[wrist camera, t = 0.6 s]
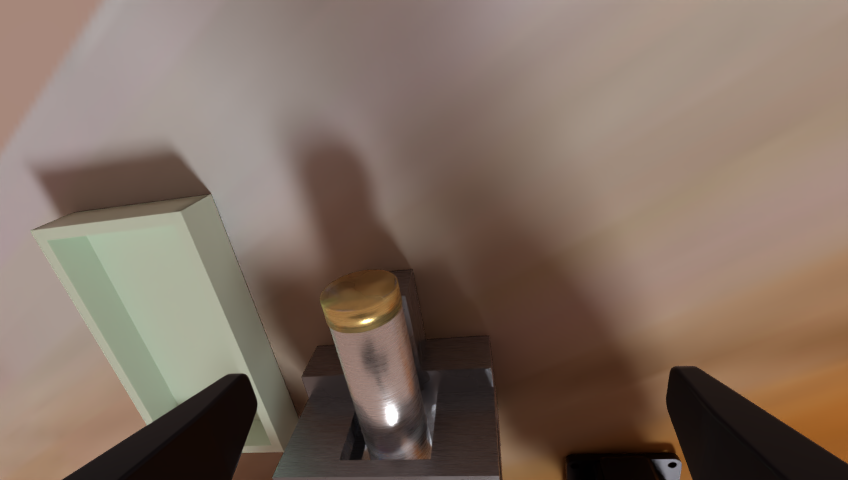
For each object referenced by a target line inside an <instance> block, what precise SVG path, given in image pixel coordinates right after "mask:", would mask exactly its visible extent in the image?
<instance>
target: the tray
mask: <svg viewBox="0 0 848 480" xmlns="http://www.w3.org/2000/svg"><path fill="white" fill-rule="evenodd" d="M30 231H31V233H32V235H33V236H34V238H35V240H36V241H37V243H38V245H39V246H40V248H41V250H42V251H43V253H44V255H45V256H46V258H47V260H48V261H49V263H50V265H51V266H52V268H53V270H54V271H55V273H56V275H57V276H58V278H59V280H60V281H61V283H62V285H63V286H64V288H65V290H66V291H67V293H68V295H69V296H70V298H71V300H72V301H73V303H74V305H75V306H76V308H77V310H78V311H79V313H80V315H81V316H82V318H83V320H84V321H85V323H86V325H87V326H88V328H89V330H90V331H91V333H92V335H93V336H94V338H95V340H96V341H97V343H98V345H99V346H100V348H101V350H102V351H103V353H104V355H105V356H106V358H107V360H108V361H109V363H110V365H111V366H112V368H113V370H114V371H115V373H116V375H117V376H118V378H119V380H120V381H121V383H122V385H123V386H124V388H125V390H126V391H127V393H128V395H129V396H130V398H131V400H132V401H133V403H134V405H135V406H136V408H137V410H138V411H139V413H140V415H141V416H142V418H143V420H144V421H145V423H146V425H148V424H150V423H152V422H153V421H155V420H156V419H158V418H159V417H161V416H163V415H164V414H166V413H167V412H169V411H170V410H172V409H173V408H175V407H177V406H178V405H180V404H181V403H183V402H184V401H186V400H188V399H189V398H191V397H192V396H194V395H195V394H197V393H199V392H200V391H202V390H203V389H205V388H206V387H208V386H209V385H211V384H213V383H214V382H216V381H217V380H219V379H220V378H222V377H224V376H225V375H227V374H233V373H244V374H246V375H247V376H248V377H249V379H250V382H251V385H252V387H253V390H254V393H255V395H256V398H257V403H258V405H257V411H256V415H255V417H254V420H253V423H252V426H251V428H250V431H249V434H248V437H247V439H246V442H245V445H244V448H243V450H242V453H268V452H284V451H285V449H286V447H287V444H288V442H289V440H290V438H291V436H292V434H293V432H294V429H295V427H296V425H297V423H298V421H299V418H298V415H297V413H296V410H295V408H294V405H293V403H292V400H291V397H290V395H289V392H288V390H287V387H286V385H285V382H284V380H283V377H282V374H281V372H280V369H279V367H278V364H277V362H276V359H275V356H274V354H273V351H272V349H271V346H270V344H269V341H268V339H267V336H266V333H265V331H264V328H263V326H262V323H261V321H260V318H259V316H258V313H257V310H256V308H255V305H254V303H253V300H252V298H251V295H250V293H249V290H248V287H247V285H246V282H245V280H244V277H243V275H242V272H241V269H240V267H239V264H238V262H237V259H236V257H235V254H234V252H233V249H232V246H231V244H230V241H229V239H228V236H227V234H226V231H225V229H224V226H223V223H222V221H221V218H220V216H219V213H218V211H217V208H216V206H215V203H214V200H213V198H212V195H211V194H208V195H201V196H193V197H186V198H179V199H171V200H164V201H156V202H149V203H141V204H134V205H126V206H119V207H111V208H104V209H96V210H89V211H81V212H74V213H71V214H69V215H66V216H64V217H62V218H59V219H57V220H54V221H52V222H50V223H47V224H45V225H42V226H40V227H38V228H35V229H33V230H30Z"/></svg>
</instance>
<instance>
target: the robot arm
mask: <svg viewBox="0 0 848 480" xmlns="http://www.w3.org/2000/svg"><path fill="white" fill-rule="evenodd" d="M666 404H667V409H668V413H669V415H670V418H671V421H672V424H673V426H674V429H675V432H676V435H677V437H678V440H679V443H680V446H681V449H682V451H683V454H684V457H685V460H686V462H687V465H688V468H689V471H690V474H691V476H692V479H693V480H848V464H847V463H846V462H844V461H842V460H841V459H839V458H838V457H836V456H835V455H833V454H832V453H830V452H828V451H827V450H825V449H824V448H822V447H821V446H819V445H818V444H816V443H814V442H813V441H811V440H810V439H808V438H807V437H805V436H804V435H802V434H800V433H799V432H797V431H796V430H794V429H793V428H791V427H790V426H788V425H786V424H785V423H783V422H782V421H780V420H779V419H777V418H776V417H774V416H772V415H771V414H769V413H768V412H766V411H765V410H763V409H762V408H760V407H758V406H757V405H755V404H754V403H752V402H751V401H749V400H748V399H746V398H744V397H743V396H741V395H740V394H738V393H737V392H735V391H734V390H732V389H730V388H729V387H727V386H726V385H724V384H723V383H721V382H720V381H718V380H716V379H715V378H713V377H712V376H710V375H709V374H707V373H706V372H704V371H703V370H701V369H699V368H697V367H695V366H675V367H673V368H671V370H670V374H669V381H668V388H667V395H666ZM257 405H258V403H257V398H256V395H255V393H254V390H253V387H252V385H251V382H250V379H249V377H248V376H247V375H246V374H244V373H233V374H227V375H225V376H224V377H222V378H220V379H219V380H217V381H216V382H214V383H213V384H211V385H209V386H208V387H206V388H205V389H203V390H202V391H200V392H199V393H197V394H195V395H194V396H192V397H191V398H189V399H188V400H186V401H184V402H183V403H181V404H180V405H178V406H177V407H175V408H173V409H172V410H170V411H169V412H167V413H166V414H164V415H163V416H161V417H159V418H158V419H156V420H155V421H153V422H152V423H150V424H148V425H147V426H145V427H144V428H142V429H141V430H139V431H137V432H136V433H134V434H133V435H131V436H130V437H128V438H127V439H125V440H123V441H122V442H120V443H119V444H117V445H116V446H114V447H112V448H111V449H109V450H108V451H106V452H105V453H103V454H102V455H100V456H98V457H97V458H95V459H94V460H92V461H91V462H89V463H87V464H86V465H84V466H83V467H81V468H80V469H78V470H76V471H75V472H73V473H72V474H70V475H69V476H67V477H66V478H64V479H62V480H231V479H232V477H233V474H234V472H235V469H236V467H237V464H238V461H239V459H240V456H241V453H242V450H243V448H244V445H245V442H246V439H247V437H248V434H249V431H250V428H251V426H252V423H253V420H254V417H255V415H256V411H257ZM565 464H566V480H680V473H681V466H682V464H681V461H680V459H679V457H678V456H677V455H676V454H673V453H646V454H582V455H570V456H568V457H567V458H566V460H565Z"/></svg>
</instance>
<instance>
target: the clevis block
mask: <svg viewBox="0 0 848 480" xmlns="http://www.w3.org/2000/svg"><path fill="white" fill-rule="evenodd" d="M390 272H391V273H392V274H394V275H395V276H396V277H397V279H398V283H399V288H400V293H401V297H402V307H403V312H404V316H405V321H406V326H407V330H408V335H409V339H410V344H411V349H412V353H413V358H414V362H415V367H416V371H417V376H418V381H419V385H420V390H421V394H422V399H423V404H424V408H425V413H426V417H427V422H428V426H429V431H430V436H431V440H432V450H431V459H406V460H369V458H370V456H369V453H368V450H367V446H366V443H365V440H364V437H363V434H362V430H361V427H360V424H359V421H358V418H357V414H356V411H355V408H354V405H353V401H352V398H351V395H350V392H349V389H348V385H347V382H346V379H345V376H344V373H343V369H342V366H341V363H340V360H339V357H338V353H337V350H336V347H335V345H332V346H317V348H316V350H315V352H314V354H313V356H312V358H311V359H310V361H309V363H308V365H307V367H306V369H305V371H304V373H303V375H302V377H301V378H302V381H303V383H304V386H305V389H306V391H307V394H308V397H309V399H308V402H307V404H306V406H305V408H304V410H303V412H302V414H301V417H300V419H299V421H298V423H297V425H296V427H295V429H294V432H293V434H292V436H291V438H290V440H289V442H288V444H287V447H286V449H285V451H284V453H283V455H282V457H281V460H280V462H279V464H278V466H277V468H276V470H275V472H274V475H273V477H272V479H273V480H503V478H502V463H501V448H500V446H501V443H500V428H499V414H498V404H497V395H496V387H495V379H494V371H493V362H492V354H491V346H490V337H489V336H474V337H459V338H443V339H427V340H426V336H425V330H424V325H423V320H422V315H421V310H420V305H419V300H418V295H417V290H416V285H415V280H414V275H413V270H401V271H390Z"/></svg>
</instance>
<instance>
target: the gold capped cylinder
mask: <svg viewBox="0 0 848 480" xmlns="http://www.w3.org/2000/svg"><path fill="white" fill-rule="evenodd" d="M320 303H321V306H322V309H323V313H324V316H325V319H326V322H327V324H328V326H329V328H330V331H331V334H332V337H333V340H334V344H335V347H336V350H337V353H338V357H339V360H340V363H341V366H342V369H343V373H344V376H345V379H346V382H347V385H348V389H349V392H350V395H351V398H352V401H353V405H354V408H355V411H356V414H357V418H358V421H359V424H360V427H361V430H362V434H363V437H364V440H365V443H366V446H367V450H368V453H369V456H370V459H371V460H406V459H431V450H432V440H431V436H430V431H429V426H428V422H427V417H426V413H425V408H424V404H423V399H422V394H421V390H420V385H419V381H418V376H417V371H416V367H415V362H414V358H413V353H412V349H411V344H410V339H409V335H408V330H407V326H406V321H405V316H404V312H403V307H402V297H401V293H400V288H399V283H398V279H397V277H396V276H395V275H394V274H392V273H391V272H388V271H384V270H363V271H358V272H354V273H351V274H348V275H345V276H343V277H341V278H339V279H337V280H335V281H333V282H332V283H331V284H329V285H328V286H327V287H326V288H325V289H324V290H323V292H322V293H321V295H320Z"/></svg>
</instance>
